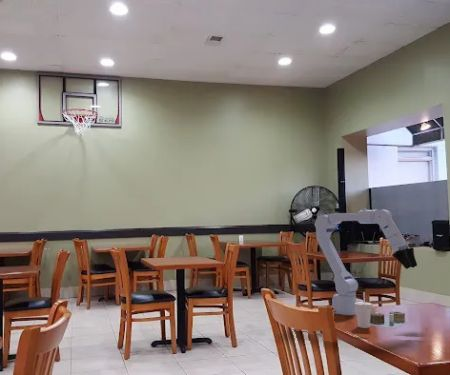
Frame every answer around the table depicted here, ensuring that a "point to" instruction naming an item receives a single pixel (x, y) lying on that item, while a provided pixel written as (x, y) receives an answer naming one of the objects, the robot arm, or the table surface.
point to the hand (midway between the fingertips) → (411, 267)
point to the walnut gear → (377, 318)
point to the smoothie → (363, 313)
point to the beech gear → (398, 316)
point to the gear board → (388, 322)
